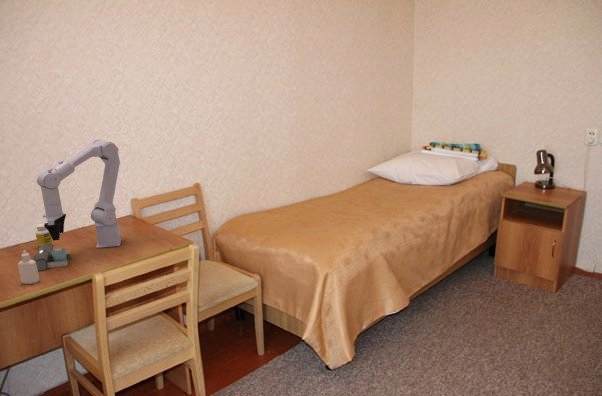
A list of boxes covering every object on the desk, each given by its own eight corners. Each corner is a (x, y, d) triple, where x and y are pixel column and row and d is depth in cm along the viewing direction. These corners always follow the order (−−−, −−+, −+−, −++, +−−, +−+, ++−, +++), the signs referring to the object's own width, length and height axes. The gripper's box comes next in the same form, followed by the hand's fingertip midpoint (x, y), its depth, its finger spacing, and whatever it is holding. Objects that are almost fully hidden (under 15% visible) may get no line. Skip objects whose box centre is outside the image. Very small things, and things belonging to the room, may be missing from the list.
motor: (72, 255, 188) (70, 240, 186) (66, 267, 177) (63, 252, 175) (43, 258, 185) (40, 243, 183) (34, 271, 174) (31, 255, 172)
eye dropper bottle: (31, 277, 169) (25, 247, 166) (41, 280, 167) (35, 249, 163) (19, 282, 165) (13, 251, 162) (29, 286, 163) (23, 254, 159)
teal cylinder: (68, 259, 184) (66, 246, 183) (66, 264, 180) (64, 250, 178) (54, 260, 183) (52, 247, 181) (52, 265, 179) (50, 252, 177)
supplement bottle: (46, 249, 194) (42, 227, 191) (35, 249, 195) (31, 227, 192) (55, 244, 199) (51, 223, 196) (44, 244, 200) (40, 222, 197)
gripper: (45, 198, 183) (51, 231, 187) (35, 210, 170) (42, 244, 174) (65, 197, 185) (70, 229, 189) (57, 208, 171) (63, 242, 175)
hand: (58, 236), depth 181 cm, fingers open, 7 cm apart
